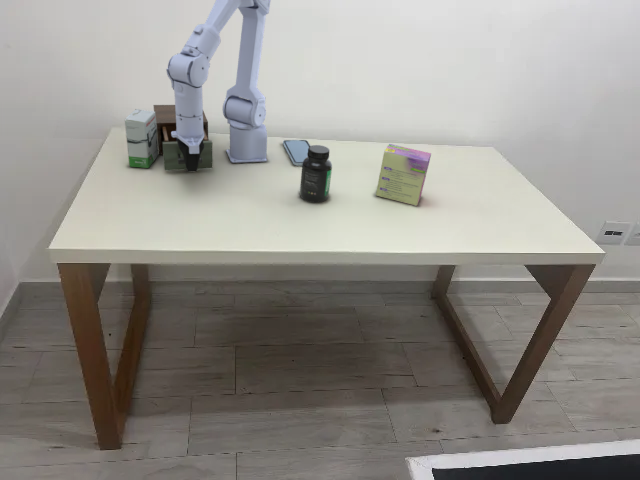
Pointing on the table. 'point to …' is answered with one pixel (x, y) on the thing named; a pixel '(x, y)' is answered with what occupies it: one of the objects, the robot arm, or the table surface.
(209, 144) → the drawer
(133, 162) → the ink box
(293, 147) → the smartphone
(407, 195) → the box
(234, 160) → the robot arm
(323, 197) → the supplement bottle
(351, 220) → the table surface
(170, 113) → the cabinet
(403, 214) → the table surface
